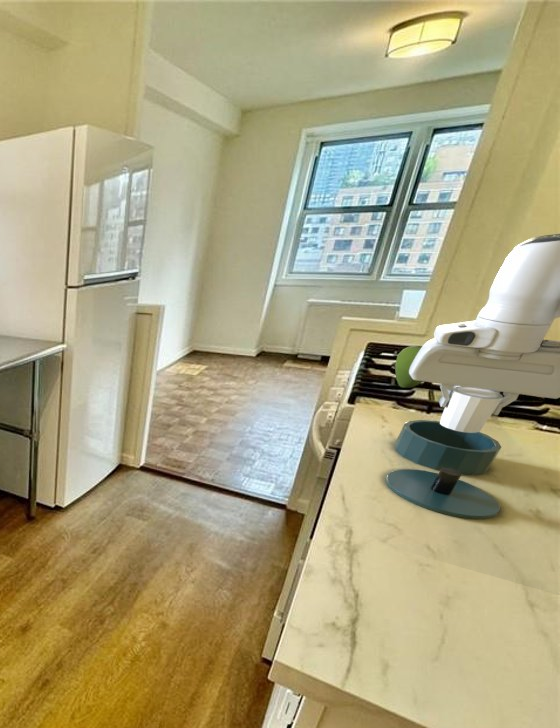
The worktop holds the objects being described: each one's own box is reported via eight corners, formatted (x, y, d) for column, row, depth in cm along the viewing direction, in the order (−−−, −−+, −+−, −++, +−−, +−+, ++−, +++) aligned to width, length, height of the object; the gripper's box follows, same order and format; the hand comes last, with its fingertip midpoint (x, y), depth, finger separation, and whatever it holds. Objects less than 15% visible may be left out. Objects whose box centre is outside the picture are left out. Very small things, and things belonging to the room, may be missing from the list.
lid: (485, 490, 85) (500, 465, 83) (506, 533, 74) (524, 506, 72) (381, 467, 92) (392, 443, 90) (387, 503, 82) (399, 478, 79)
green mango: (429, 394, 124) (450, 351, 118) (387, 388, 128) (406, 346, 123) (423, 384, 130) (443, 342, 125) (384, 379, 134) (402, 338, 129)
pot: (477, 454, 96) (491, 430, 94) (493, 485, 86) (509, 459, 84) (390, 437, 103) (401, 414, 100) (396, 464, 93) (408, 439, 91)
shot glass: (489, 428, 90) (508, 392, 87) (478, 437, 87) (497, 401, 84) (441, 416, 95) (458, 382, 92) (429, 424, 92) (446, 390, 89)
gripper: (587, 339, 80) (542, 416, 86) (425, 325, 90) (396, 394, 97) (603, 349, 75) (554, 428, 82) (430, 333, 86) (399, 404, 92)
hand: (467, 410), depth 89 cm, fingers closed on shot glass, 5 cm apart
